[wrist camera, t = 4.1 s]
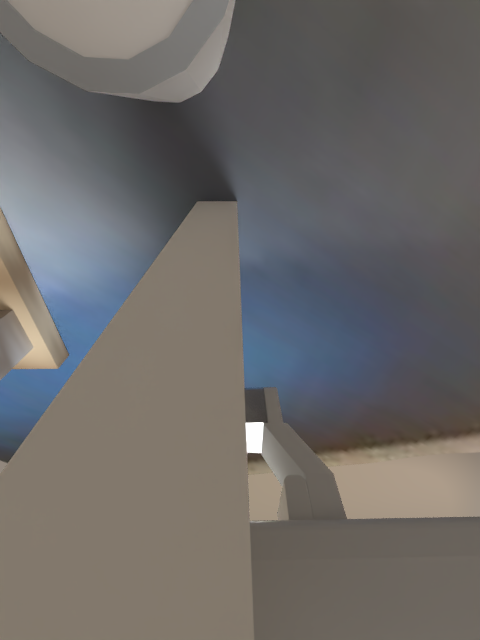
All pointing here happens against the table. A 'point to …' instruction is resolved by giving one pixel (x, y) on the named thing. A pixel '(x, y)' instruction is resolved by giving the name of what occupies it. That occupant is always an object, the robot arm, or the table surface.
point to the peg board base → (24, 314)
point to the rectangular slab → (141, 466)
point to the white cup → (123, 43)
